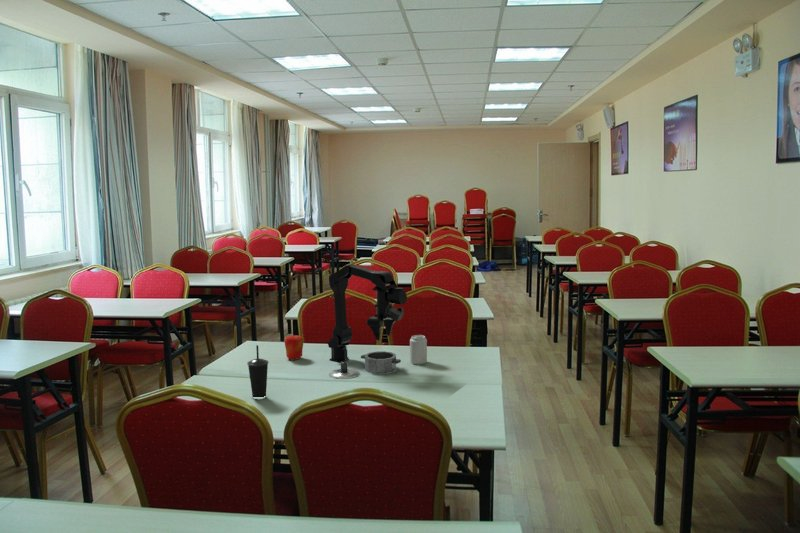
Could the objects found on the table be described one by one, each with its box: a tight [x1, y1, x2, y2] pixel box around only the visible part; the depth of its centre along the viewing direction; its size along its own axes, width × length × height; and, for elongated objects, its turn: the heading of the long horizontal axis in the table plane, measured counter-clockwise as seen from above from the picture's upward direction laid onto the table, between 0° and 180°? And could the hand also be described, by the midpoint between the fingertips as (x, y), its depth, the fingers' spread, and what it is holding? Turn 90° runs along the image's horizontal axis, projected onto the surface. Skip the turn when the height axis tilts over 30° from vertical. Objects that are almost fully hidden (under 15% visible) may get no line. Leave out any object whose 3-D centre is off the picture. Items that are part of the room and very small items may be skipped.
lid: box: [328, 361, 360, 380], centre depth 266 cm, size 13×13×5 cm
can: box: [409, 334, 428, 366], centre depth 281 cm, size 8×8×12 cm
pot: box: [360, 350, 402, 375], centre depth 272 cm, size 18×13×6 cm
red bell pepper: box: [284, 333, 304, 361], centre depth 289 cm, size 9×8×12 cm
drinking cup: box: [247, 345, 269, 398], centre depth 236 cm, size 8×8×20 cm
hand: (383, 337), depth 271 cm, fingers open, 9 cm apart
